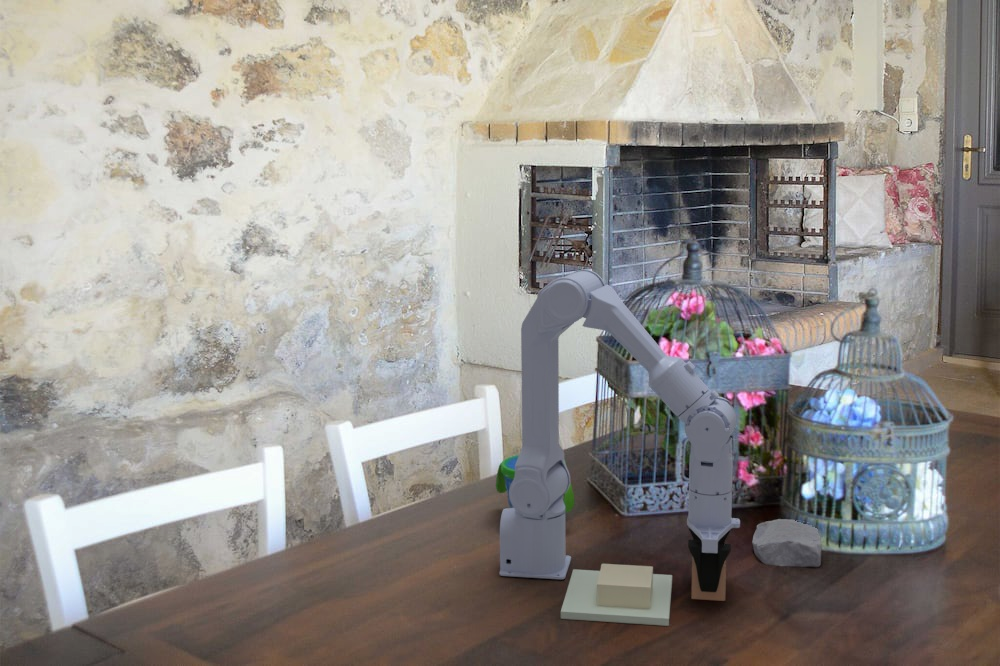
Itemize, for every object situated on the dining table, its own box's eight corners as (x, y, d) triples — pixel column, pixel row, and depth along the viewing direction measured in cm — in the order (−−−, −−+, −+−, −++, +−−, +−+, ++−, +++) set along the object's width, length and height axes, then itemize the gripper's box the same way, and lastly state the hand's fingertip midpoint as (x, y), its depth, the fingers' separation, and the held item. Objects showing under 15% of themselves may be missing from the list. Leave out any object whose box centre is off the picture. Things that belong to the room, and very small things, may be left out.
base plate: (560, 618, 142) (560, 589, 141) (573, 575, 156) (573, 549, 155) (668, 625, 140) (669, 596, 139) (672, 581, 153) (672, 555, 152)
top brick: (691, 598, 147) (692, 564, 147) (691, 585, 152) (692, 551, 151) (725, 600, 147) (726, 566, 146) (724, 587, 151) (725, 553, 150)
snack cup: (479, 516, 180) (478, 457, 178) (528, 502, 187) (527, 445, 185) (540, 543, 168) (540, 480, 166) (590, 527, 175) (590, 466, 173)
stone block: (757, 577, 159) (827, 569, 157) (751, 546, 158) (821, 537, 156) (755, 549, 170) (820, 541, 168) (749, 520, 170) (815, 511, 168)
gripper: (742, 508, 139) (739, 607, 141) (739, 473, 153) (736, 564, 155) (686, 505, 140) (684, 604, 143) (688, 471, 154) (686, 561, 157)
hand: (708, 583), depth 149 cm, fingers closed on top brick, 4 cm apart
